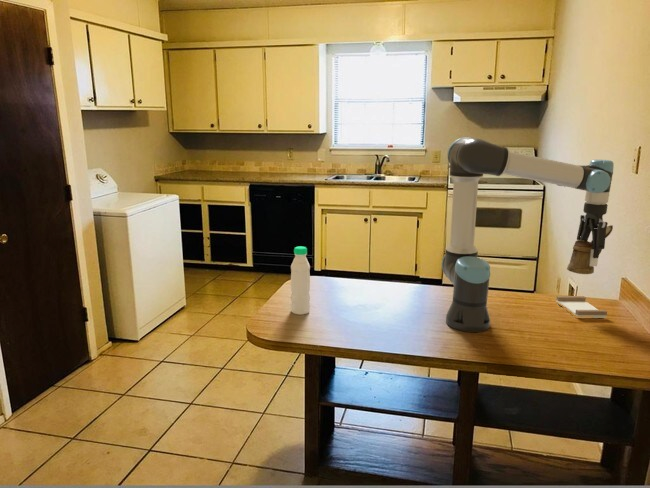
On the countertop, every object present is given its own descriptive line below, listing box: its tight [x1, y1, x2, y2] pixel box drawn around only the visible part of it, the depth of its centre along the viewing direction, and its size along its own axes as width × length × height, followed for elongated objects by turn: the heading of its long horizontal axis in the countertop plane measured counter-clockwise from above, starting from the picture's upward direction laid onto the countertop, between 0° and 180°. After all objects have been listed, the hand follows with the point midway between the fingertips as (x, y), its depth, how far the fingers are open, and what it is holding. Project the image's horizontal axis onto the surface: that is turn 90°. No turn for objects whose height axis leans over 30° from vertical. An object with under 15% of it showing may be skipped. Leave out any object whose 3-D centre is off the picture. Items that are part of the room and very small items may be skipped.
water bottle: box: [290, 245, 311, 315], centre depth 181 cm, size 7×7×25 cm
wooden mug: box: [566, 224, 614, 275], centre depth 183 cm, size 9×14×18 cm, turn 84°
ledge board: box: [555, 295, 608, 319], centre depth 190 cm, size 11×16×3 cm
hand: (587, 262), depth 185 cm, fingers closed on wooden mug, 7 cm apart
